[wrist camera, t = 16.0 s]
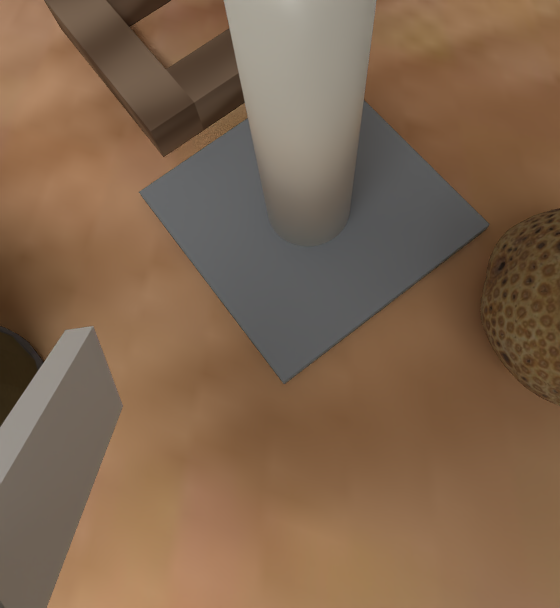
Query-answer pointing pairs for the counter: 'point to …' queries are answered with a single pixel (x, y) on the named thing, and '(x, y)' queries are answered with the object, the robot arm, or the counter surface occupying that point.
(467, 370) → the counter surface
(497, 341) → the natural sponge
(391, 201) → the mat
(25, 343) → the canister
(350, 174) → the plug
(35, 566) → the robot arm
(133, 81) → the wooden square frame
